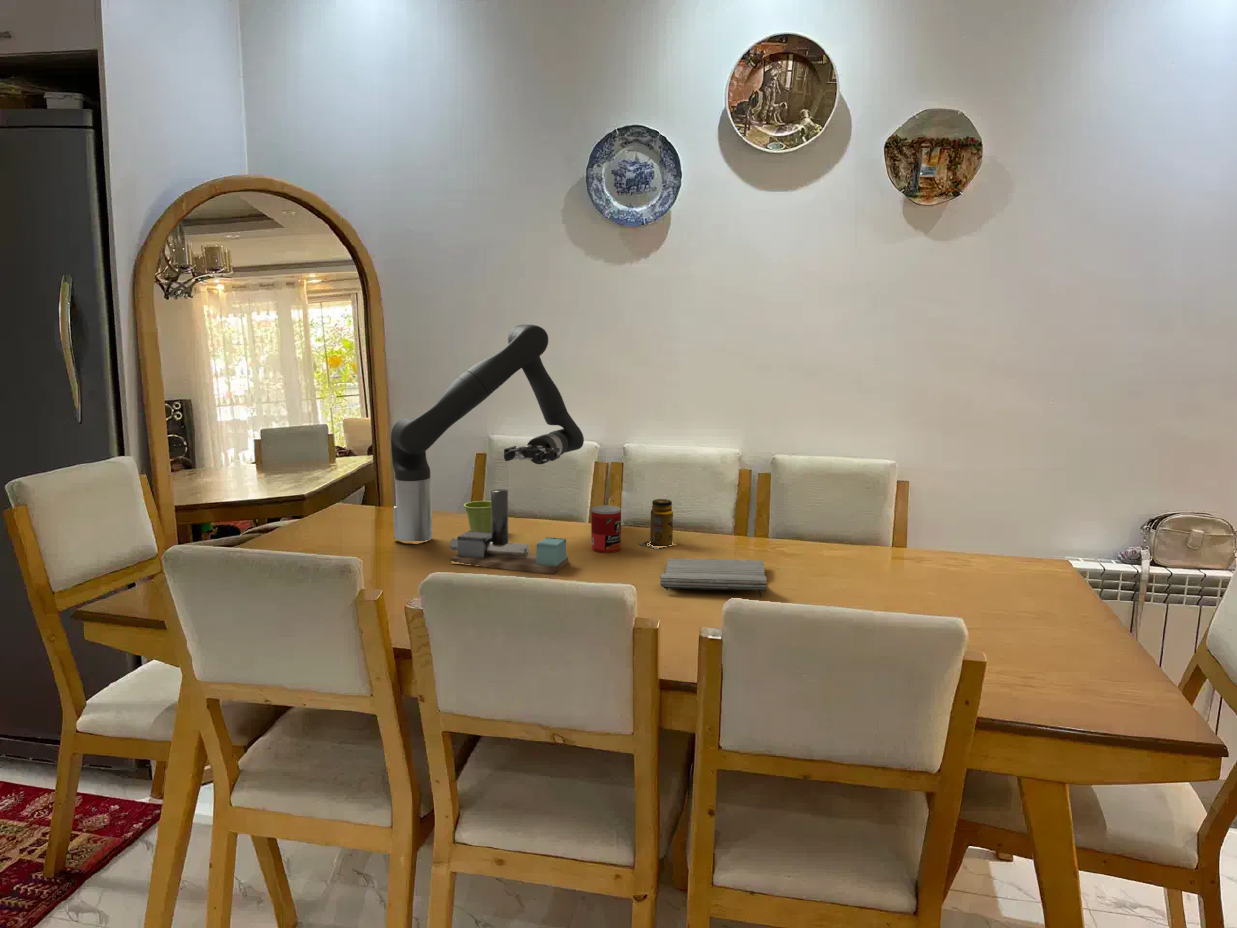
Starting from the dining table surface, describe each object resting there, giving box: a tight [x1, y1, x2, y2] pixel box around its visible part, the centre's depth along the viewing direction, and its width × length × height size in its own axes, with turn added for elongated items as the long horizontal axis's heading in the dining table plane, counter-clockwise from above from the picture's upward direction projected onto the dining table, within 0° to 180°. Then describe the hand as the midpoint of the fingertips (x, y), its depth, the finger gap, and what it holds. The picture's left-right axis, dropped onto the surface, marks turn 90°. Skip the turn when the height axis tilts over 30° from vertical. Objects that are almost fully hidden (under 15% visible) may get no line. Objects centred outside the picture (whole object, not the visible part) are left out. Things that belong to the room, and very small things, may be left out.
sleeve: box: [456, 530, 492, 559], centre depth 204 cm, size 7×6×5 cm
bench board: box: [450, 552, 569, 575], centre depth 202 cm, size 27×10×2 cm, turn 73°
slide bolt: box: [449, 488, 530, 558], centre depth 202 cm, size 20×4×16 cm, turn 73°
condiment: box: [638, 498, 674, 550], centre depth 220 cm, size 7×8×12 cm
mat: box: [659, 557, 767, 599], centre depth 189 cm, size 23×24×5 cm
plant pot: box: [463, 500, 492, 533], centre depth 230 cm, size 9×9×9 cm
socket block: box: [535, 536, 567, 566], centre depth 198 cm, size 5×7×5 cm
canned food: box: [590, 504, 622, 554], centre depth 215 cm, size 8×8×11 cm
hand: (521, 457), depth 212 cm, fingers open, 8 cm apart
